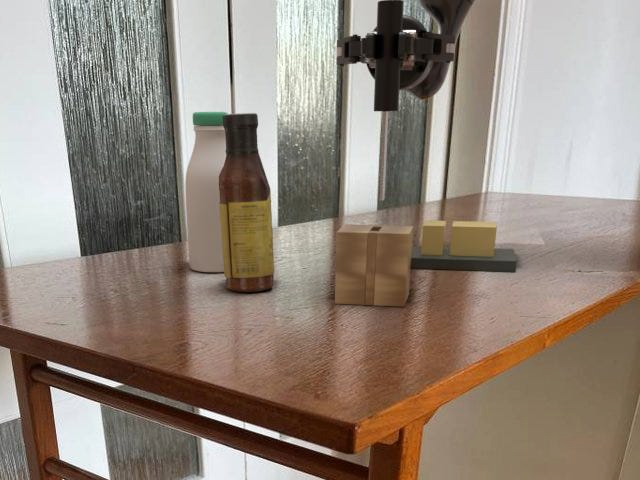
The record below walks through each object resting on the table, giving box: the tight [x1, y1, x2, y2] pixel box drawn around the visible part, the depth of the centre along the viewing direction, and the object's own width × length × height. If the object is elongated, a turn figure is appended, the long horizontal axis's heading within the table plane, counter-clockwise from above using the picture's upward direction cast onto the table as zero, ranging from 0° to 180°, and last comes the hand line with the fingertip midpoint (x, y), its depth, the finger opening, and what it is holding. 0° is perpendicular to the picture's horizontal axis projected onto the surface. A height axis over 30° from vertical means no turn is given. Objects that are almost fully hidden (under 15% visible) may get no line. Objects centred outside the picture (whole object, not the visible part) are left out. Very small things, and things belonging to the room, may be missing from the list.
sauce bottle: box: [219, 112, 275, 293], centre depth 90 cm, size 7×6×20 cm
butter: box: [411, 220, 517, 273], centre depth 107 cm, size 16×10×6 cm, turn 77°
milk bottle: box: [184, 111, 228, 273], centre depth 102 cm, size 8×8×20 cm
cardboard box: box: [334, 224, 414, 308], centre depth 87 cm, size 8×6×8 cm
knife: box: [373, 0, 404, 202], centre depth 81 cm, size 3×3×19 cm
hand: (386, 44), depth 76 cm, fingers closed on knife, 2 cm apart
